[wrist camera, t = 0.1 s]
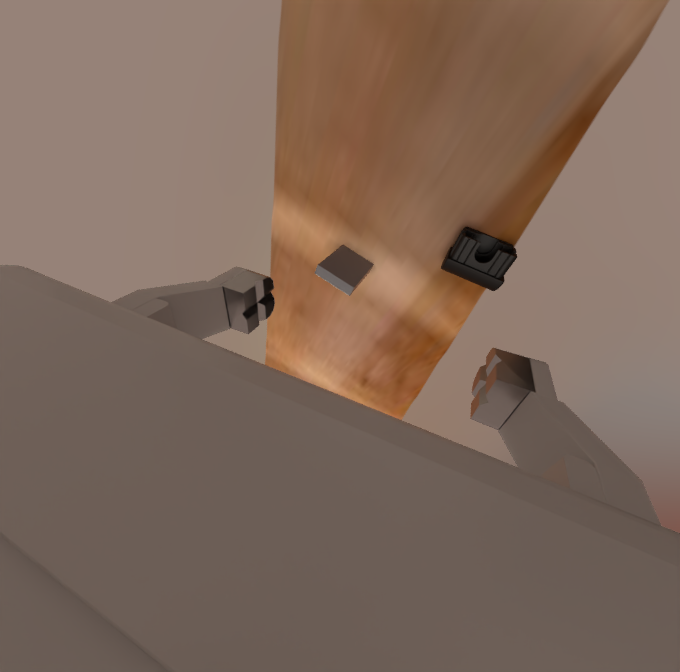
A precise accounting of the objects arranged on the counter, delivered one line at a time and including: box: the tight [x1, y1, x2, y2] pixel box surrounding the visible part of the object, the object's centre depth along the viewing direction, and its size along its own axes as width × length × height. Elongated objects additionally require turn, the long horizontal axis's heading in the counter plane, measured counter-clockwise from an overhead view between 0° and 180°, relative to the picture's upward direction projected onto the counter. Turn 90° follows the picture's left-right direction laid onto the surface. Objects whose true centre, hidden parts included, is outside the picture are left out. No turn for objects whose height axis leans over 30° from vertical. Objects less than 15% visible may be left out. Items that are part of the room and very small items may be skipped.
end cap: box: [441, 227, 517, 291], centre depth 49 cm, size 10×7×7 cm
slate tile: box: [315, 245, 374, 296], centre depth 57 cm, size 2×8×12 cm, turn 66°
